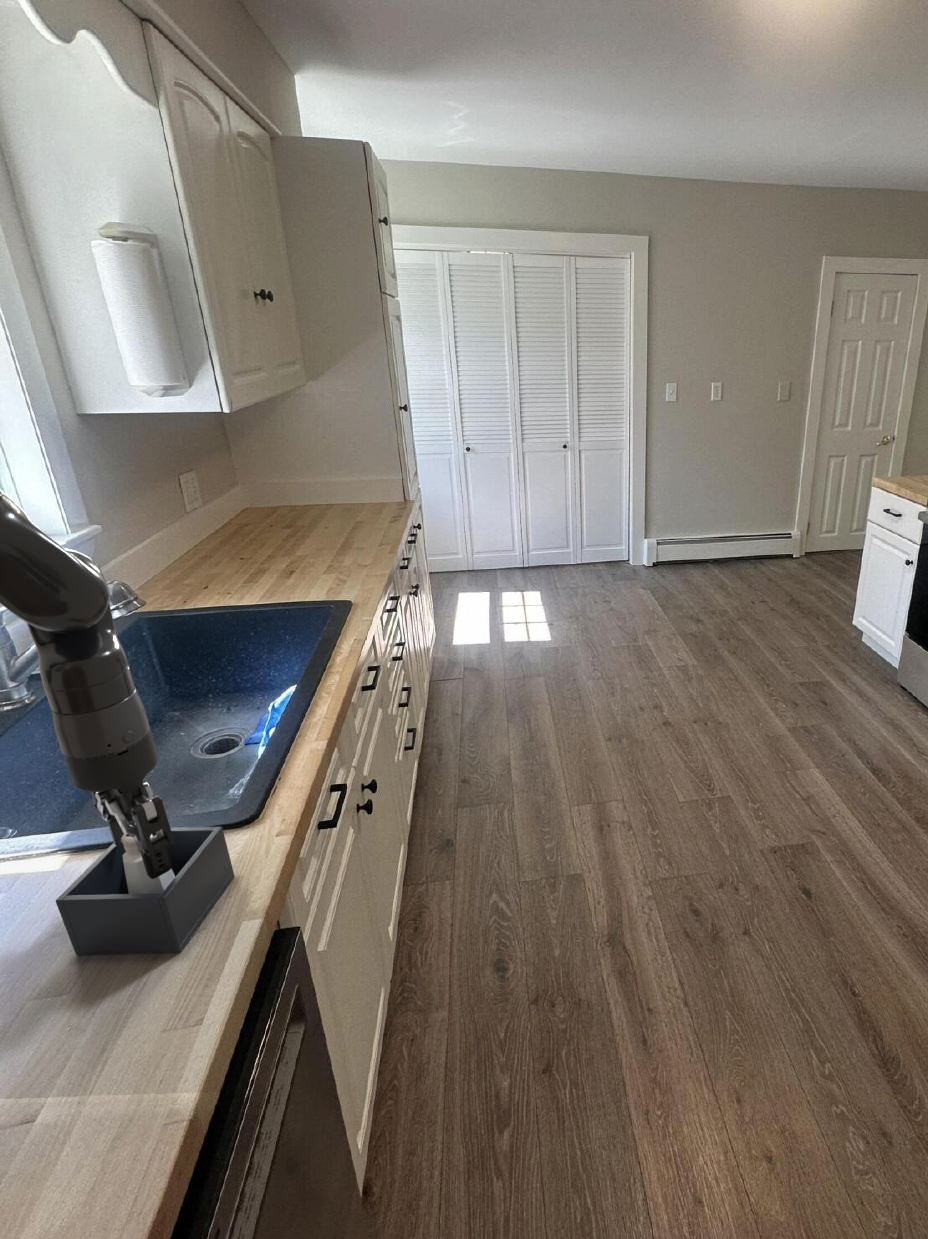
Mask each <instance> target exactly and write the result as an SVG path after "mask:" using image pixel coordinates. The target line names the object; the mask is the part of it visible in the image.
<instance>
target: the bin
mask: <svg viewBox="0 0 928 1239" xmlns="http://www.w3.org/2000/svg"><path fill="white" fill-rule="evenodd" d="M170 828H171V832H172V835H173V837H174V843H173V844H172V845H170V846H167V850H168V853H169V856H170V860H171V863H172V868H171V869H172V871H173V873H174V875H175V878H174V879H173V881H172V882H171V883H170V884H169V886H168V887H167V888H166V889H165V890H164V892H163V893H155V894H129V893H128V887H127V881H126V875H125V869H124V863H123V854H124V853H126V850H125V848H124V847H122V848H118V847H117V846H116V845H115V844H114V842H113V843H112V844H111V845H109V847H107V848H106V850H105V851H104V852H103V853H101V855H100V856H98V858H97V859H96V860H94V861H93V862H92V863H91V865H90V866H89V867H88V868H86V870H84V872H83V873H81V874H80V876H78V877H77V878H76V879H75V880H74V882H72V883H71V884H70V885H69V886H68V887H67V889H66V890H64V891H63V892H62V893H61V894H60V895H59V896H58V897H57V898H56V899H55V903H56V906H57V909H58V912H59V915H60V917H61V919H62V922H63V924H64V927H65V931H66V932H67V935H68V938H69V940H70V943H71V946H72V948H73V951H74V954H75V956H102V955H103V956H107V955H109V956H110V955H139V954H142V955H143V954H177V953H178V954H179V953H182V952H183V950H185V948H186V946H187V945H188V944H189V942H190V941H191V939H192V938H193V936H194V935H195V933H196V932H197V931H198V929H199V928H200V926H201V925H202V923H203V922H204V921H205V920H206V919H207V916H208V915H209V914H210V913H211V911H212V909H213V908H214V907H215V905H216V904H217V902H218V901H219V900H220V899H221V897H222V895H223V894H224V893H225V891H226V890H227V888H228V887H229V886H230V884H231V882H232V881H233V880H234V878H235V877H236V876H235V872H234V869H233V868H234V867H233V865H232V860H231V856H230V852H229V849H228V845H227V841H226V836H225V832H224V829H223V828H224V827H223V826H189V827H187V826H186V827H185V826H183V827H170ZM155 835H157V834H156V832H155V833H153V834H152V836H155Z"/></svg>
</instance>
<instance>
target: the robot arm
mask: <svg viewBox="0 0 928 1239" xmlns="http://www.w3.org/2000/svg"><path fill="white" fill-rule="evenodd" d="M107 582H108V581H107V580H106V578H105V576H104V573H103V571H102V569H101V568H100V567H99V565H98V564H97V563H96V562H95V561H94V560H93V559H92V558H90V557H89V556H87V555H85V554H84V553H81V552H78V551H77V550H73V549H68V548H64V547H63V546H62V545H61V544H59V543H58V542H57V541H56V540H54V539H53V538H51V537H50V536H49V535H48V534H47V533H46V532H44V531H43V530H42V529H40V528H39V527H38V526H37V525H36V524H34V523H33V522H32V520H31V519H30V517H29V516H28V515H27V513H26V511H24V510H23V508H22V507H21V506H20V505H18V504H17V502H16V501H14V500H13V499H12V498H11V497H10V496H9V495H7V493H4V491H3V490H1V489H0V605H1V606H3V607H4V608H5V609H7V610H8V612H11V614H13V615H14V616H16V617H18V618H19V619H20V620H22V621H23V622H25V623H26V624H27V627H28V630H29V633H30V635H31V638H32V640H33V643H34V646H35V648H36V651H37V655H38V667H39V674H40V678H41V682H42V685H43V689H44V692H45V695H46V698H47V700H48V704H49V708H50V709H51V714H52V721H53V728H54V731H55V735H56V738H57V741H58V744H59V747H60V750H61V753H62V757H63V759H64V762H65V765H66V768H67V771H68V773H69V777H70V780H71V783H72V785H73V787H74V788H76V789H77V790H78V791H82V792H86V793H87V792H88V793H90V796H91V798H92V802H93V808H94V809H95V810H96V811H98V812H100V813H101V818H102V819H103V820H104V821H105V822H107V825H108V829H109V831H110V834H111V837H112V840H113V843H114V844H115V845H116V846H117V847H118V848H122V847H124V844H123V843H122V841H121V838H122V836H123V835H124V834H125V836H127V837H133V839H134V841H135V843H136V844H137V846H138V850H139V852H140V853H141V856H142V859H143V863H144V866H145V869H146V872H147V875H148V876H149V877H150V878H151V879H155V878H157V877H159V876H160V875H162V874H164V873H166V872H168V871H169V870H170V869H171V868H172V863H171V860H170V856H169V853H168V850H167V846H170V845H172V844H173V843H174V837H173V835H172V832H171V828H172V827H171V825H170V822H169V819H168V816H167V813H166V810H165V809H166V808H165V806H164V802H163V799H162V798H161V797H160V796H159V795H156V796H154V791H153V789H152V787H151V785H150V784H149V783H148V782H144V779H145V778H146V777H147V775H148V774H149V773H150V772H152V771H153V769H154V768H155V767H156V766H157V764H158V762H159V756H158V751H157V748H156V744H155V742H154V738H153V734H152V730H151V726H150V722H149V719H148V715H147V713H146V712H147V711H146V709H145V706H144V703H143V701H142V698H141V697H140V695H139V693H138V690H137V688H136V682H135V680H134V675H133V673H132V670H131V666H130V663H129V659H128V657H127V654H126V652H125V650H124V648H123V646H122V644H121V642H120V639H119V638H118V635H117V631H116V626H115V622H114V618H113V613H112V608H111V605H110V602H111V592H110V587H109V585H108V583H107ZM153 796H154V797H153ZM155 832H156V834H157V835H155V836H153V837H151V838H150V835H151V834H153V833H155Z"/></svg>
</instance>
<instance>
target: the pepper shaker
mask: <svg viewBox="0 0 928 1239" xmlns="http://www.w3.org/2000/svg"><path fill="white" fill-rule="evenodd" d="M151 837H153V836H152V834H151V835H150V838H151ZM121 841H122V843H123V844H124V848H125V850H126V853H124V854H123V863H124V869H125V875H126V881H127V887H128V893H129V894H155V893H163V892H164V890H165V889H166V888H167V887H168V886H169V884H170V883H171V882H172V881H173V879H174V878H175V875H174V873H173V871H172V869H170V870H169V871H168V872H166V873H164V874H162V875H160V876H159V877H157V878H155V879H151V878H150V877H149V876H148V875H147V872H146V869H145V866H144V863H143V859H142V856H141V853H140V852H139V850H138V846H137V844H136V843H135V841H134V839H133V837H127V836H125V834H124V835H123V836H122V838H121Z"/></svg>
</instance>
